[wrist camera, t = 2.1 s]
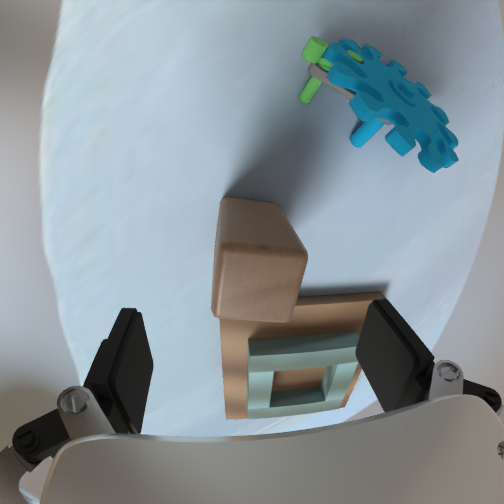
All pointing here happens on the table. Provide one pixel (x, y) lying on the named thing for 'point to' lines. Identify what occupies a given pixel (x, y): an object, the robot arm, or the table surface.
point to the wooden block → (256, 262)
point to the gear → (381, 100)
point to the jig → (294, 358)
